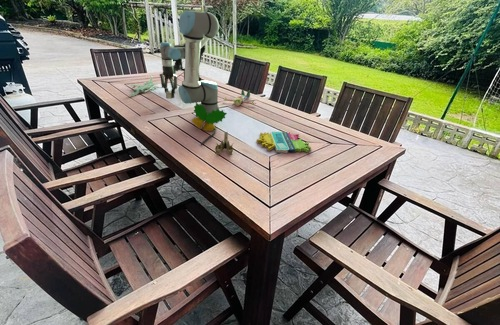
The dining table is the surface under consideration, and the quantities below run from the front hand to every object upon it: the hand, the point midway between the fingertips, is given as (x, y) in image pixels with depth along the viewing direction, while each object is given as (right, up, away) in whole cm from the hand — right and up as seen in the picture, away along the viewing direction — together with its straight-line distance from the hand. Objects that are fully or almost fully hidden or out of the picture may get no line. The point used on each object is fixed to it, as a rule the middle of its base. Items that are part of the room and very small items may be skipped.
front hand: (170, 97), depth 201 cm
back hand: (-2, +26, +37) cm, 45 cm away
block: (0, 0, 0) cm, 0 cm away
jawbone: (+48, -44, -63) cm, 91 cm away
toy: (+54, +1, +20) cm, 58 cm away
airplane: (-31, +12, +28) cm, 43 cm away
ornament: (+36, -29, -37) cm, 59 cm away
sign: (+80, -39, -49) cm, 102 cm away
